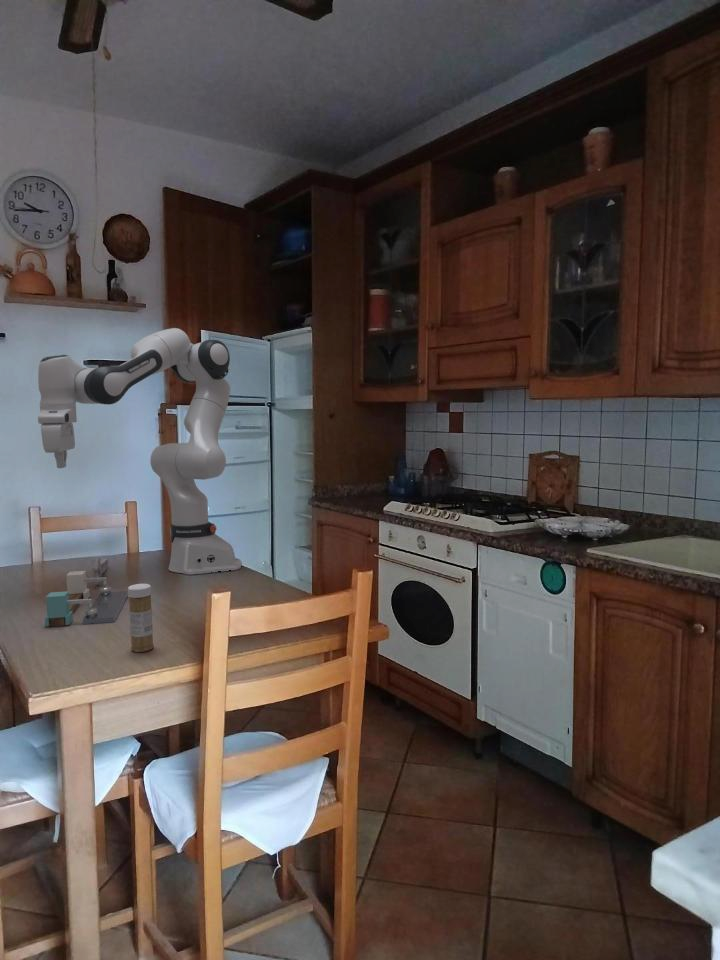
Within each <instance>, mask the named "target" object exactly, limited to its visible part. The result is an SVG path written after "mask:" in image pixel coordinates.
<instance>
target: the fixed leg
mask: <svg viewBox="0 0 720 960" xmlns="http://www.w3.org/2000/svg"><path fill="white" fill-rule="evenodd" d="M107 580H108V578H107V577H103V576H102V577H101V578H94V577H90V578H88V577H87V571H86V570H76V571H75V570H74V571H69V572H68V573H67V574H66V587H67V588H66V591H69V595H70V594H79V593H83V599H90V597H91V594H90V588H88V586H87V585H88V584H87V583H92V582H93V583H94V582H98V581H101V582H103V587H107V585H108V582H107Z"/></svg>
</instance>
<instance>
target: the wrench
mask: <svg viewBox="0 0 720 960" xmlns="http://www.w3.org/2000/svg"><path fill="white" fill-rule="evenodd" d="M108 568H109V560H108V558H104V559H103V558H101V560H100V558H92V559H91V571H93V578H103V574H104V572H106V571H107V569H108ZM93 583H94V587H96V586H97V585H99V586H101V585H102V581H98V582H93Z"/></svg>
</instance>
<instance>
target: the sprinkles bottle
mask: <svg viewBox="0 0 720 960" xmlns="http://www.w3.org/2000/svg"><path fill="white" fill-rule="evenodd" d="M127 591H128V596H127V597H128V600H129V601H128V602H129V603H128V605H129V612H128V613H129V626H130V628H129V629H130V641H131V647H130V649H131V651H132V652H134V653H144V652H149V651H150V650H152V649H154V637H153V636H154V635H153V633H154V631H153V630H154V628H153V609H152V600H151V596H152V586H151V585H150V584H148V583H137V584H132V585H130V586H128V587H127Z"/></svg>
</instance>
